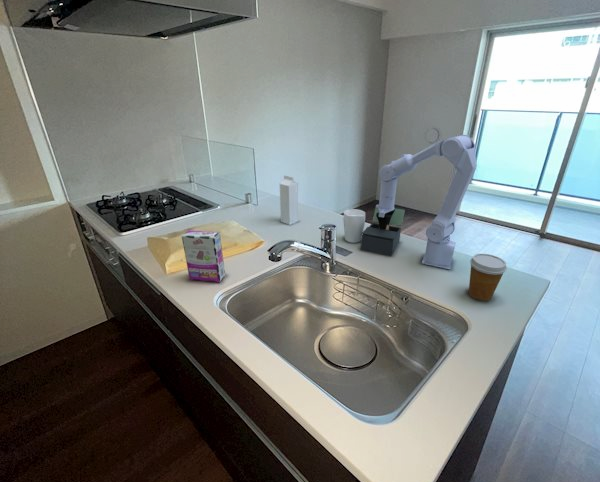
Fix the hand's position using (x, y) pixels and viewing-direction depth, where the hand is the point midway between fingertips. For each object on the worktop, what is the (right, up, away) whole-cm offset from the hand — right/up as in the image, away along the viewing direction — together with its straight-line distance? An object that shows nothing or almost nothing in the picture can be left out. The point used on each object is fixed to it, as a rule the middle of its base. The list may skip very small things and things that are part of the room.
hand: (384, 228), depth 129 cm
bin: (-1, -7, 0) cm, 7 cm away
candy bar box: (-65, -18, -20) cm, 71 cm away
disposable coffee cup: (+21, -22, -31) cm, 43 cm away
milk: (-39, +4, +26) cm, 47 cm away
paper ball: (0, 0, 0) cm, 0 cm away
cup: (-12, -5, +6) cm, 14 cm away
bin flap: (+3, +5, +3) cm, 7 cm away
